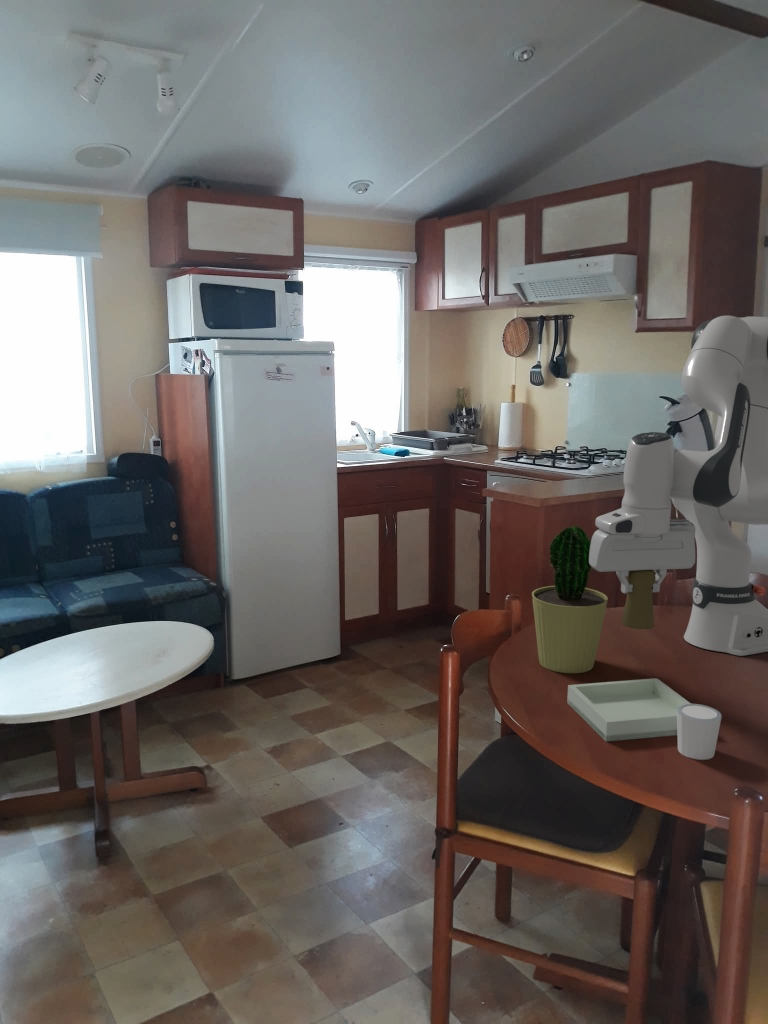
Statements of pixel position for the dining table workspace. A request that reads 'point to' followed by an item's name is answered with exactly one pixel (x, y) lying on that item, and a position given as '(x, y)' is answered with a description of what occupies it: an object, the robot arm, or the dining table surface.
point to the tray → (627, 708)
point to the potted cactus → (569, 607)
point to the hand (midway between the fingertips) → (640, 592)
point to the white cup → (697, 730)
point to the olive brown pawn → (639, 600)
